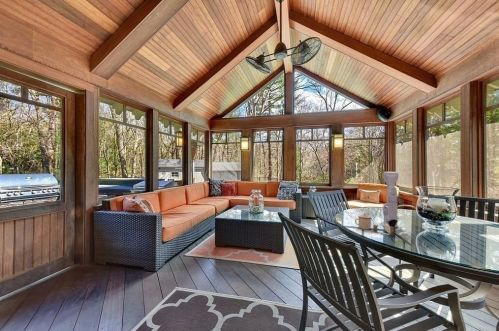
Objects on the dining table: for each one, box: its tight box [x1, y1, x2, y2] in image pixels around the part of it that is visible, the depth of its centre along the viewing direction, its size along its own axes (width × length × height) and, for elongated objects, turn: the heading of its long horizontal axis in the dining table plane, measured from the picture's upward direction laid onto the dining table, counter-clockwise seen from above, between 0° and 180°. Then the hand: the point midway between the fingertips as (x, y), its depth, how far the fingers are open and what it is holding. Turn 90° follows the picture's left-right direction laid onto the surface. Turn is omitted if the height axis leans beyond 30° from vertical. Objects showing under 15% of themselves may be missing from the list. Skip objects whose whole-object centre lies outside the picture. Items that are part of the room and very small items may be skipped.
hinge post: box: [389, 226, 395, 237], centre depth 167 cm, size 2×2×7 cm
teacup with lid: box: [354, 212, 372, 230], centre depth 186 cm, size 12×9×12 cm
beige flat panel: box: [384, 224, 390, 234], centre depth 174 cm, size 12×1×5 cm, turn 167°
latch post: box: [372, 224, 379, 233], centre depth 177 cm, size 2×2×5 cm, turn 26°
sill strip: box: [376, 230, 390, 236], centre depth 174 cm, size 2×11×1 cm, turn 26°
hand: (392, 229), depth 174 cm, fingers closed
